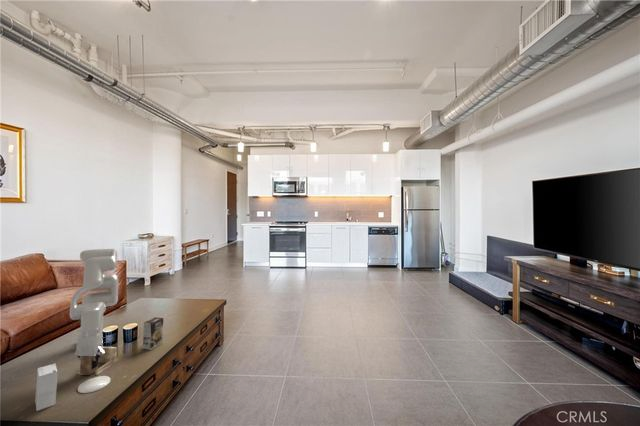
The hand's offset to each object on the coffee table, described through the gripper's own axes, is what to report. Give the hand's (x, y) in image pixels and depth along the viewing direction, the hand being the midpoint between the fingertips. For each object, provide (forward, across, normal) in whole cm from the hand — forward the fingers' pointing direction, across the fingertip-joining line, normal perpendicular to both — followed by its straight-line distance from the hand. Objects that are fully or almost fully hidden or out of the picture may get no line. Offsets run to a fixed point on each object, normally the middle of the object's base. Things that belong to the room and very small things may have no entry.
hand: (89, 366), depth 136 cm
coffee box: (+4, +14, +30) cm, 33 cm away
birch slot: (+3, 0, +5) cm, 6 cm away
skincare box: (+4, 0, -21) cm, 22 cm away
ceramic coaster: (+3, +10, -8) cm, 14 cm away
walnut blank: (+3, 0, 0) cm, 3 cm away
